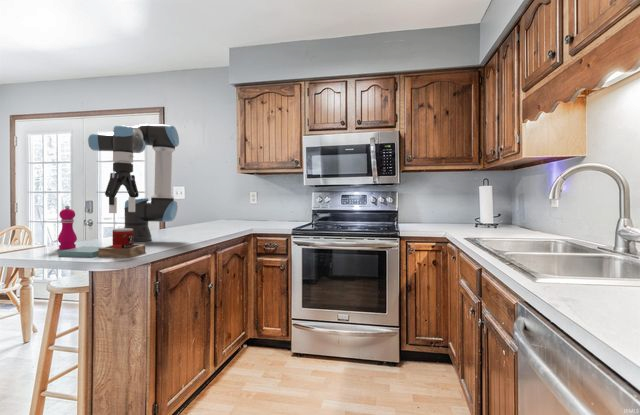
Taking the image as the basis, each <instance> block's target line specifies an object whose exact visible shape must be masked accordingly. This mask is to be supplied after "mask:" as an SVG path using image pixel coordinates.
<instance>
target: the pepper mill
mask: <svg viewBox="0 0 640 415" xmlns="http://www.w3.org/2000/svg"><path fill="white" fill-rule="evenodd" d="M75 217H76V212H75V210H73V209H71V208H70V205H65V206H64V209H62V210H60V211H59V218H61V219H60V223H61V225H62V226H61V230H60V233H59V234H58V236H57V237H58V238H57V242H58V243H59V245H58V249H59V250H68V249H73V248H77V247H76V246H77V245H76V242H77V240H78V237H77V234H76V232H75V230H74V227H73V224H74V223H75V219H74V218H75Z"/></svg>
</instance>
